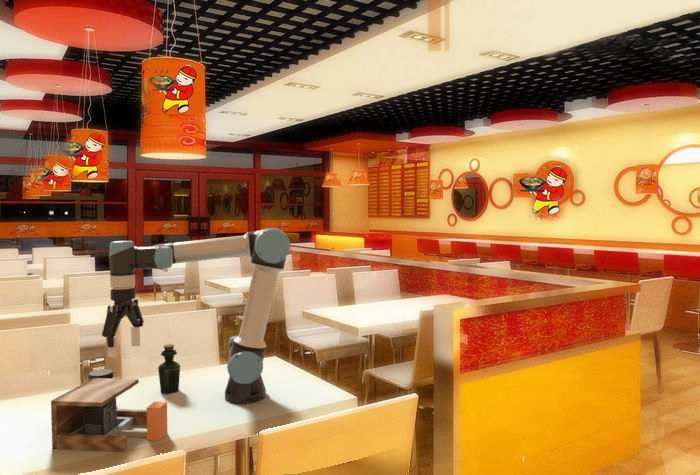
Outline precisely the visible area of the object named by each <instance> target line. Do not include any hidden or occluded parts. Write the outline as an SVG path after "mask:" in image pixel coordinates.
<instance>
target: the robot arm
mask: <svg viewBox="0 0 700 475" xmlns="http://www.w3.org/2000/svg"><path fill="white" fill-rule="evenodd" d="M290 250H291V242H290V239H289V237H288V235H287V233H286V232H284V230H282V229H280V228H277V227H265V228H263V229H259V230H255V231H254V230H253V231H248V232H246V233H245V234H244V235H235V236H225V237H217V238H215V237H214V238H207V239H206V238H205V239H196V240H187V241H178V242H170V243H158V244H157V243H156V244H155V245H152V246H136V244H135V243H134V241H133V240H116V241H114V240H113V241H111V242H110V243H109V253H108V257H109V258H108V260H109V277H110V278H109V281H110V283H109V284H110V287H111V289H110V291H109V292H110V300H111V301H113V302H114V303H113V304H112V305H111V304H110V305H107V312H106V316H105V320H104V325H103V329H102V334H101V336H102V337H104V338H106V344H107V345H106V346H107V357H108V358H117V357H118V337H117V335H116V334H117V332H118V328H119V326H120V323H121V321H122V320H123V318H124V317H125V316H126V317H127V319H128V320H129V322H130V324H131V325H132V327H130V332H131V333H130V334H131V336H130V337H131V340H130V341H131V347H140V346H141V331H140V330H141V328H140V327H143V326H144V322H145V321H144V318H143V315H142V312H141V309H140V306H139V300H138V299H137V298H136V287H135V286H136V272H135V271H136V270H156V269H157V270H163V269H170V268H172V267H173V265H176V264H183V263H192V262H193V263H194V262H201V261H210V260H217V259H229V258H238V257H246V256H247V257H248V258H250V259H251V260H250V264H251V266H252V267H253V271H252V276H251V279H250V284H249V289H248V294H247V296H246V300H245V301H246V302H245V306H244V311H243V314H242V320H241V324H240V328H239V334H238V335H234V336H233V335H232V336H231V337H229V339H228V362H227V366H226V371H227V372H228V375H229V377H228V381H227V384H226V387H225V390H224V399H225V401H227V402H229V403H233V404H249V403H250V404H252V403H256V402H258V400H259V401H261V400H263V399H264V398H265V397H266V396H267V394H266V393H267V389H266V386H265V383H264V379H263V378H262V372H263V371H264V358H265V354H266V349H267V344H266V341H264V337H265V334H266V330H267V324H268V320H269V316H270V312H271V306H272V302H273V298H274V293H275V290H276V289H275V288H276V284H277V279H278V276H279V273H281V272H282V271H283V270H284V269H285V265H286V260H287V256H288V255H289V252H290ZM265 395H266V396H265ZM262 398H263V399H262ZM260 399H261V400H260ZM255 401H256V402H255Z"/></svg>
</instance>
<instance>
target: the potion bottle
mask: <svg viewBox="0 0 700 475" xmlns="http://www.w3.org/2000/svg"><path fill="white" fill-rule="evenodd" d="M174 346H175V344H172V343H168V344H164V345H163V349H164V350H162V351H161V353H160V356H161V357H163V358H164V361H163V362H162V363H160V364H159V366H158V367H157V370H158V377H159V378H158V379H159V387H160V393H161V394H163V395H171V394H176V393H177V392H178V391H179V390H180V378H181V374H180V373H181V365H180V363H179V362H177V361H174V358H175V356H176V355H177V354H178V353H177V350H176V349H174V348H175V347H174Z"/></svg>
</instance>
